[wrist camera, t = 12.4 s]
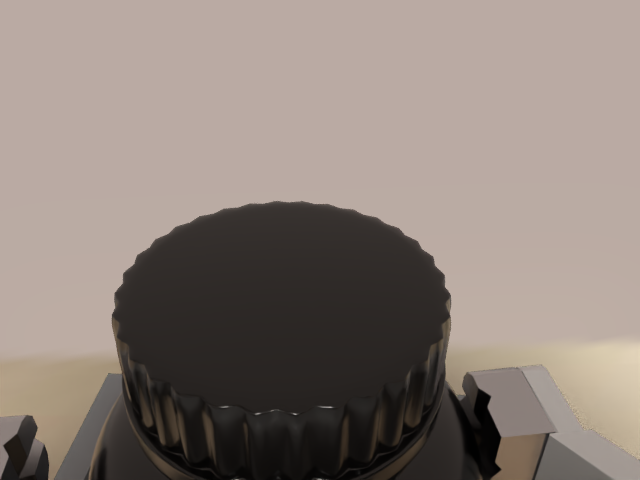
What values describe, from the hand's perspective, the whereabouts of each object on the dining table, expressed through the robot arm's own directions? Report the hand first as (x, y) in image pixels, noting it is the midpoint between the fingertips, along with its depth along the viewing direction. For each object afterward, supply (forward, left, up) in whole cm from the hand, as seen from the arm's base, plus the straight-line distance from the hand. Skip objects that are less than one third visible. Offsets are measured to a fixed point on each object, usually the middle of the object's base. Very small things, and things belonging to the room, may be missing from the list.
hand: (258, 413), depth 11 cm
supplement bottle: (+1, -1, -8) cm, 8 cm away
